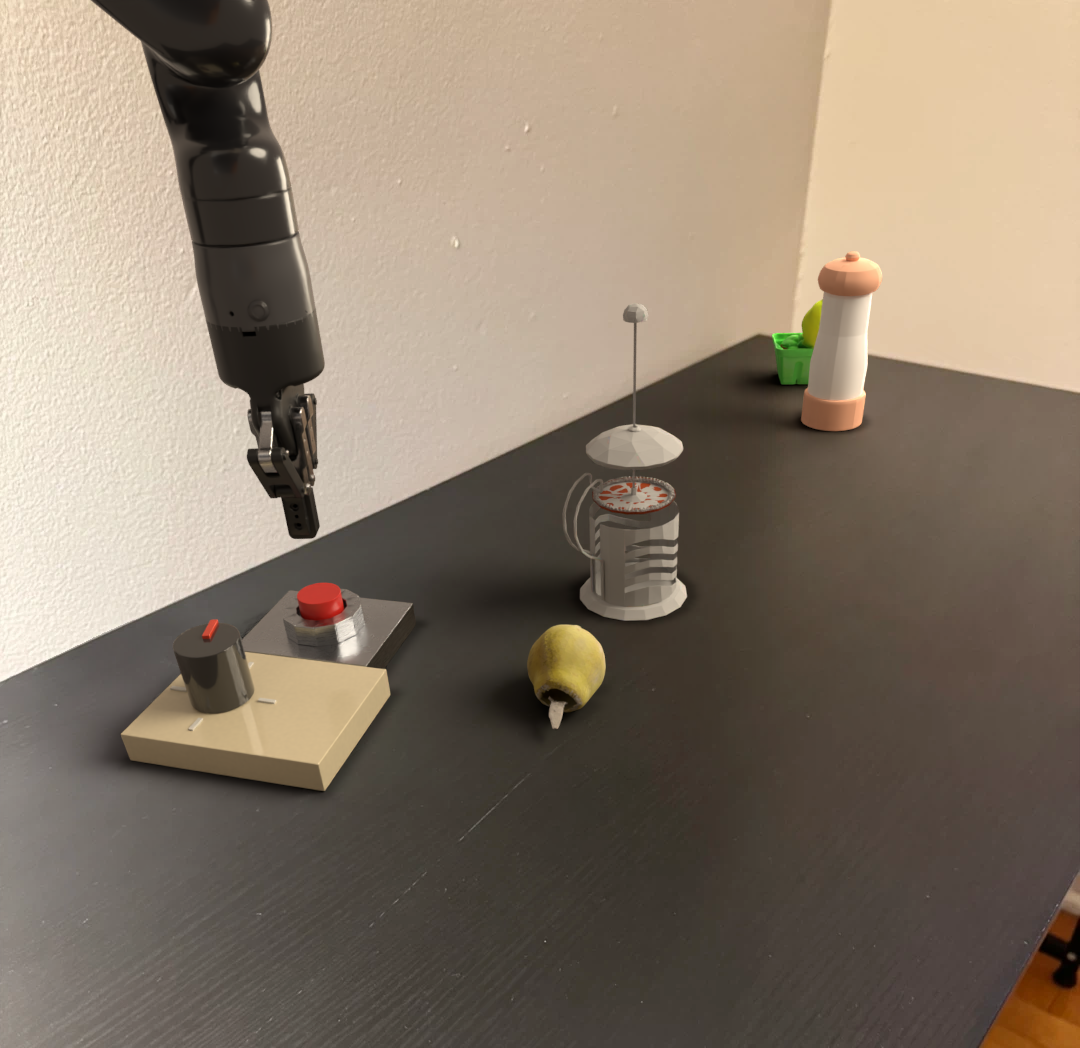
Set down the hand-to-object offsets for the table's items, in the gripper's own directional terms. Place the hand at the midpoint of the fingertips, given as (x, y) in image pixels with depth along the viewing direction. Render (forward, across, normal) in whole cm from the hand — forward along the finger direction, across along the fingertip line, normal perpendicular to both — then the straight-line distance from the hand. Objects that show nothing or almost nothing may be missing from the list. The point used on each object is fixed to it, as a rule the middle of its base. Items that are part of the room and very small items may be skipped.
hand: (305, 534), depth 78 cm
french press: (+10, -6, +26) cm, 29 cm away
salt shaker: (+10, -48, +54) cm, 73 cm away
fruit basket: (+10, -63, +55) cm, 84 cm away
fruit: (+10, +10, +21) cm, 25 cm away
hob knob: (+8, +11, -6) cm, 14 cm away
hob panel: (+10, +12, -3) cm, 16 cm away
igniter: (+10, 0, 0) cm, 11 cm away
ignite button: (+7, 0, 0) cm, 7 cm away
